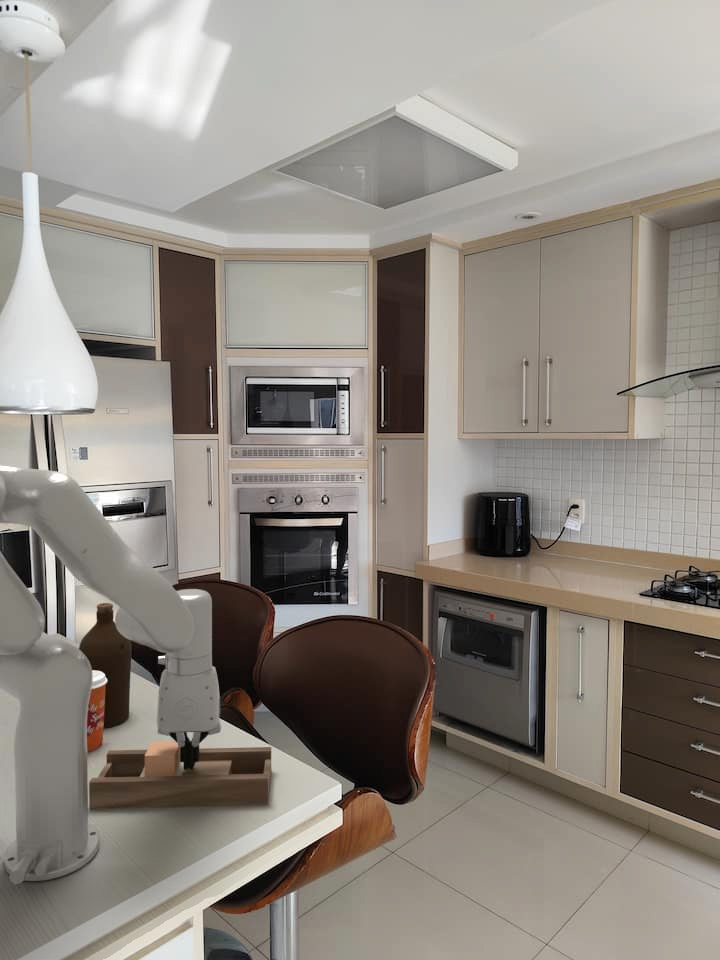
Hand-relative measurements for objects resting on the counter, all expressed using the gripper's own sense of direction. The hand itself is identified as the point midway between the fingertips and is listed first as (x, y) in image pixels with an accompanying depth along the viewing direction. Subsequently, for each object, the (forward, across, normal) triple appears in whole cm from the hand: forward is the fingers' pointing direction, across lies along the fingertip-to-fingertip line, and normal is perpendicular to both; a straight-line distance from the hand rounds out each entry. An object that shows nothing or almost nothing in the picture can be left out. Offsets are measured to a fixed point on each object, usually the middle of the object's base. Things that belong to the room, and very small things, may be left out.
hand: (189, 765), depth 115 cm
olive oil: (+4, -23, +29) cm, 37 cm away
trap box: (+4, -1, 0) cm, 4 cm away
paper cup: (+4, -23, +17) cm, 29 cm away
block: (+1, -5, 0) cm, 5 cm away
